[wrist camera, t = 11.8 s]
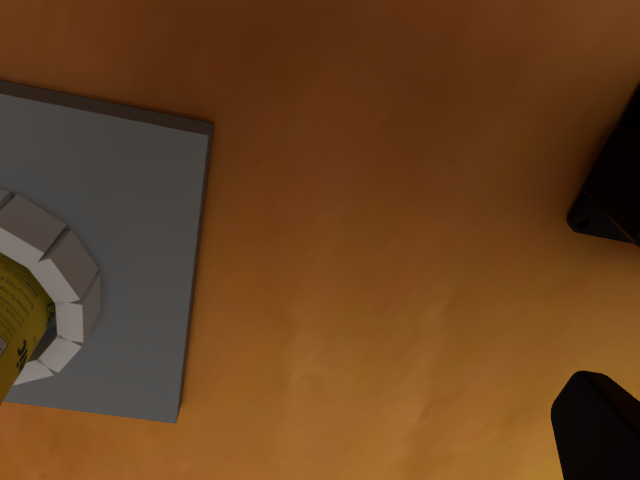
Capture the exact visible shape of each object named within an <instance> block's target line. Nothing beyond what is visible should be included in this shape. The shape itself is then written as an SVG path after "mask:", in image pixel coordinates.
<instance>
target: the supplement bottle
mask: <svg viewBox="0 0 640 480" xmlns="http://www.w3.org/2000/svg"><path fill="white" fill-rule="evenodd" d="M55 315H56V308H55V303H54V301H53V300H52V299H51V297H50V296H49V295H48V293H47V292H46V291H45V290H44V288H43V287H42V286H41V284H40V283H39V282H38V280H37V279H36V278H35V277H34V275H33V274H32V273H31V271H30V270H29V269H28V268H27V267H25V266H23V265H22V264H20V263H18V262H16V261H15V260H13V259H11V258H9V257H8V256H6V255H4V254H2V253H1V252H0V405H1V404H2V402H3V400H4V399H5V397H6V395H7V394H8V392H9V390H10V389H11V387H12V386H13V384H14V382H15V381H16V379H17V378H18V376H19V375H20V373H21V371H22V370H23V368H24V366H25V364H26V363H27V361H28V359H29V358H30V356H31V354H32V353H33V351H34V349H35V348H36V346H37V344H38V343H39V341H40V340H41V338H42V336H43V335H44V333H45V332H46V330H47V328H48V327H49V325H50V323H51V322H52V320H53V318H54V316H55Z"/></svg>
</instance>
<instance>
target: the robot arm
mask: <svg viewBox="0 0 640 480" xmlns="http://www.w3.org/2000/svg"><path fill="white" fill-rule="evenodd" d="M583 217H585V219H584V220H583V221H582V222H580V223H577V221H578V220H579V219H580V218H583ZM567 224H568V225H569V226H570V227H571V229H572V230H573V231H575V232H577V233H582V234H587V235H592V236H597V237H602V238H607V239H612V240H617V241H623V242H628V243H633V244H634V245H636V246H638V247H639V248H640V86H639V88H638V90H637V92H636V93H635V95H634V97H633V99H632V101H631V102H630V104H629V106H628V108H627V110H626V111H625V113H624V115H623V117H622V119H621V120H620V122H619V124H618V126H617V128H616V129H615V130H614V131H613V132H612V134H611V135H610V137H609V139H608V141H607V143H606V145H605V146H604V148H603V150H602V152H601V154H600V155H599V157H598V159H597V161H596V163H595V164H594V166H593V168H592V170H591V172H590V174H589V175H588V177H587V179H586V181H585V183H584V184H583V189H582V191H581V193H580V195H579V196H578V198H577V200H576V202H575V204H574V205H573V207H572V209H571V211H570V213H569V214H568V217H567ZM551 422H552V426H553V431H554V436H555V441H556V445H557V450H558V455H559V459H560V464H561V469H562V473H563V478H564V480H640V402H639V401H638V400H637V399H636V398H634V397H633V396H632V395H631V394H629V393H628V392H627V391H626V390H624V389H623V388H622V387H621V386H619V385H618V384H617V383H616V382H614V381H613V380H612V379H611V378H609V377H608V376H606V375H604V374H601V373H596V372H589V371H578V372H576V373H574V374H573V375H572V376H571V378H570V379H569V381H568V382H567V384H566V385H565V386H564V388H563V389H562V391H561V392H560V394H559V395H558V397H557V398H556V399H555V401H554V403H553V405H552V408H551Z"/></svg>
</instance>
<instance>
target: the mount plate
mask: <svg viewBox="0 0 640 480" xmlns="http://www.w3.org/2000/svg"><path fill="white" fill-rule="evenodd" d="M213 126H214V124H213V123H208V122H203V121H198V120H193V119H188V118H183V117H178V116H173V115H169V114H164V113H159V112H154V111H149V110H144V109H139V108H134V107H129V106H124V105H120V104H115V103H110V102H105V101H100V100H95V99H90V98H85V97H80V96H76V95H71V94H66V93H61V92H56V91H51V90H46V89H41V88H36V87H31V86H27V85H22V84H17V83H12V82H7V81H2V80H0V252H1V253H2V254H4V255H6V256H8V257H9V258H11V259H13V260H15V261H16V262H18V263H20V264H22V265H23V266H25V267H27V268H28V269H29V270H30V271H31V273H32V274H33V275H34V277H35V278H36V279H37V280H38V282H39V283H40V284H41V286H42V287H43V288H44V290H45V291H46V292H47V293H48V295H49V296H50V297H51V299H52V300H53V301H54V303H55V308H56V315H55V316H54V318H53V320H52V322H51V323H50V325H49V327H48V328H47V330H46V332H45V333H44V335H43V336H42V338H41V340H40V341H39V343H38V344H37V346H36V348H35V349H34V351H33V353H32V354H31V356H30V358H29V359H28V361H27V363H26V364H25V366H24V368H23V370H22V371H21V373H20V375H19V376H18V378H17V379H16V381H15V382H14V384H13V386H12V387H11V389H10V390H9V392H8V394H7V395H6V397H5V399H4V400H3V401H5V402H13V403H20V404H28V405H36V406H44V407H51V408H59V409H67V410H75V411H82V412H90V413H98V414H106V415H114V416H121V417H129V418H137V419H145V420H152V421H160V422H168V423H177V419H178V415H179V411H180V407H181V402H182V393H183V385H184V376H185V368H186V359H187V350H188V342H189V333H190V324H191V316H192V307H193V299H194V290H195V281H196V273H197V264H198V255H199V247H200V238H201V230H202V221H203V212H204V204H205V195H206V187H207V178H208V169H209V161H210V152H211V143H212V135H213Z"/></svg>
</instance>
